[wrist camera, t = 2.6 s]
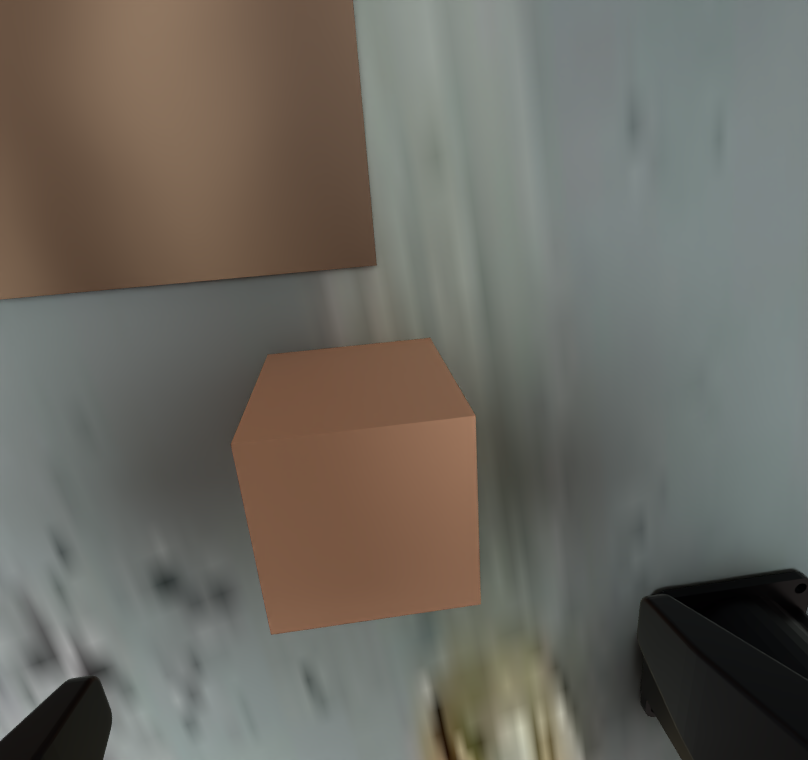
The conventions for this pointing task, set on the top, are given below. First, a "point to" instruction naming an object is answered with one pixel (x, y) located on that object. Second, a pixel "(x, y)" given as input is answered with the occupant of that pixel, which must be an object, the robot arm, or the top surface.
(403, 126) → the top surface
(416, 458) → the terracotta block
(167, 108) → the walnut board
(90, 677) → the robot arm
